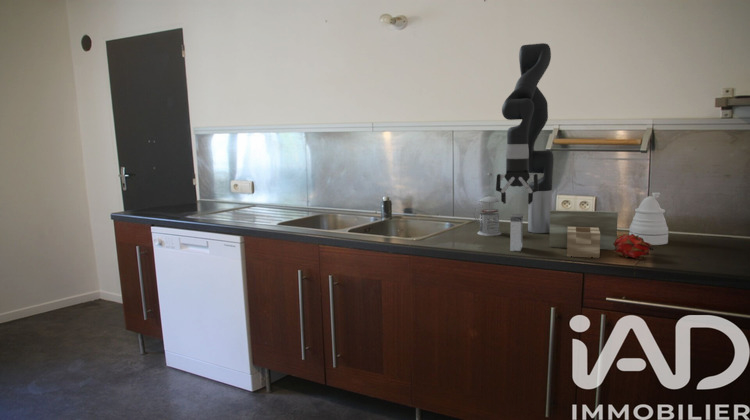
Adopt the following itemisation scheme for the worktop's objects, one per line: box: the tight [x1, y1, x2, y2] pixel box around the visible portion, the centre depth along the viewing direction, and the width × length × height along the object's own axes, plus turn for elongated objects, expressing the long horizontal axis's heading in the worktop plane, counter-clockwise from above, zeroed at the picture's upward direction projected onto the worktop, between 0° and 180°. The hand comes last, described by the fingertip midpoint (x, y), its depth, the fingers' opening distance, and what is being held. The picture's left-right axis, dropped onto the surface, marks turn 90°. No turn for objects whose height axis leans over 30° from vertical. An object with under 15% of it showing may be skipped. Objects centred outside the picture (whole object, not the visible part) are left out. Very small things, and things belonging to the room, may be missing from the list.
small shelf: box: [548, 210, 619, 259], centre depth 184 cm, size 16×22×13 cm
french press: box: [473, 172, 502, 237], centre depth 221 cm, size 10×12×25 cm
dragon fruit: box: [613, 233, 654, 260], centre depth 175 cm, size 8×8×12 cm
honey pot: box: [628, 192, 669, 246], centre depth 199 cm, size 13×13×18 cm
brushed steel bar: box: [509, 213, 524, 252], centre depth 192 cm, size 7×4×12 cm, turn 160°
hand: (516, 203), depth 190 cm, fingers open, 8 cm apart
